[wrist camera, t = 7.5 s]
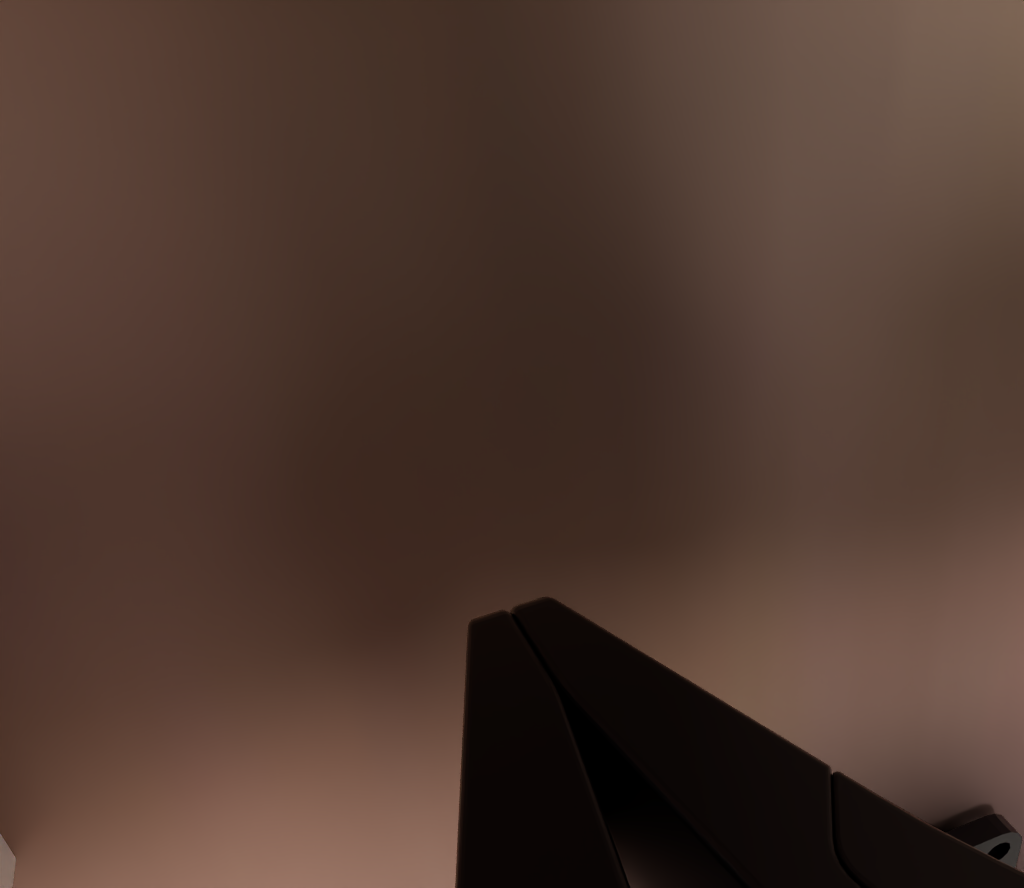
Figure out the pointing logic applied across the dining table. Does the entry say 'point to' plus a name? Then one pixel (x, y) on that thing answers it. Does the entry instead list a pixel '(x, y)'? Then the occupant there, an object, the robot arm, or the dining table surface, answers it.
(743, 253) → the dining table surface
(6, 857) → the trolley
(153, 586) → the dining table surface
